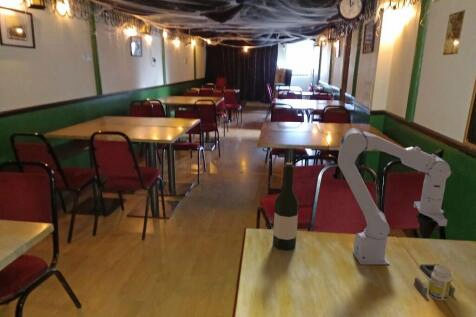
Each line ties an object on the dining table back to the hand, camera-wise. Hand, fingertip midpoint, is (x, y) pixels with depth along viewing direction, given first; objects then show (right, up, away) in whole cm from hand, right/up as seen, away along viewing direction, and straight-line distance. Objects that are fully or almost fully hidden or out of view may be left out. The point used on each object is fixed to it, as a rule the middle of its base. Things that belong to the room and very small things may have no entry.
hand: (425, 237), depth 108 cm
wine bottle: (-43, -6, +14) cm, 45 cm away
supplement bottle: (-3, -14, -12) cm, 19 cm away
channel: (-3, -13, -10) cm, 17 cm away
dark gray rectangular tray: (+2, -11, -2) cm, 11 cm away
